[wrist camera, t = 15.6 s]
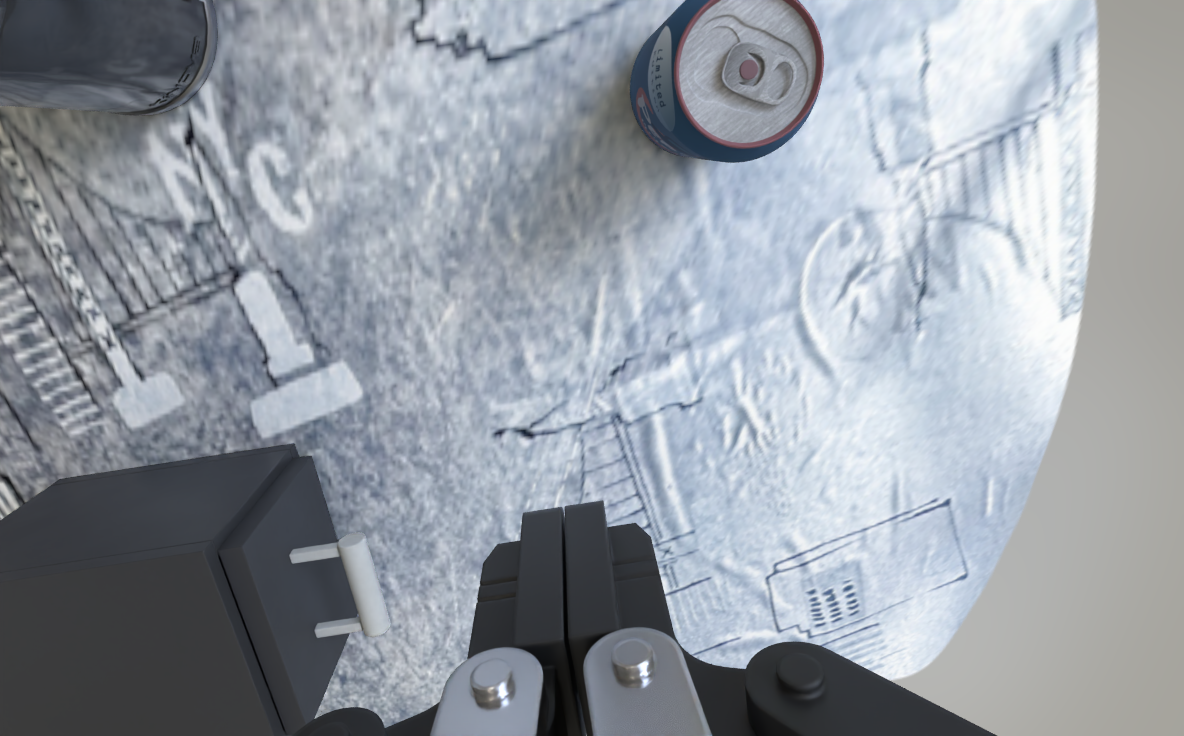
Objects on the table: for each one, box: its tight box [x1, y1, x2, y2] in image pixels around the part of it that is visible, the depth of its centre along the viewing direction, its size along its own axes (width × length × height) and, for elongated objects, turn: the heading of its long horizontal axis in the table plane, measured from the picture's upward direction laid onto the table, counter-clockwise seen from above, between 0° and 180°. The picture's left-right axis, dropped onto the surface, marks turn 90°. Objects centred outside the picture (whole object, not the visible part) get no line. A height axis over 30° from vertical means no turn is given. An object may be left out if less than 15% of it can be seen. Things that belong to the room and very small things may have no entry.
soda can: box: [630, 0, 824, 163], centre depth 32 cm, size 7×7×12 cm
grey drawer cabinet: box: [0, 444, 299, 736], centre depth 39 cm, size 15×13×12 cm
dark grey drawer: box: [218, 456, 391, 735], centre depth 39 cm, size 18×12×10 cm, turn 98°
